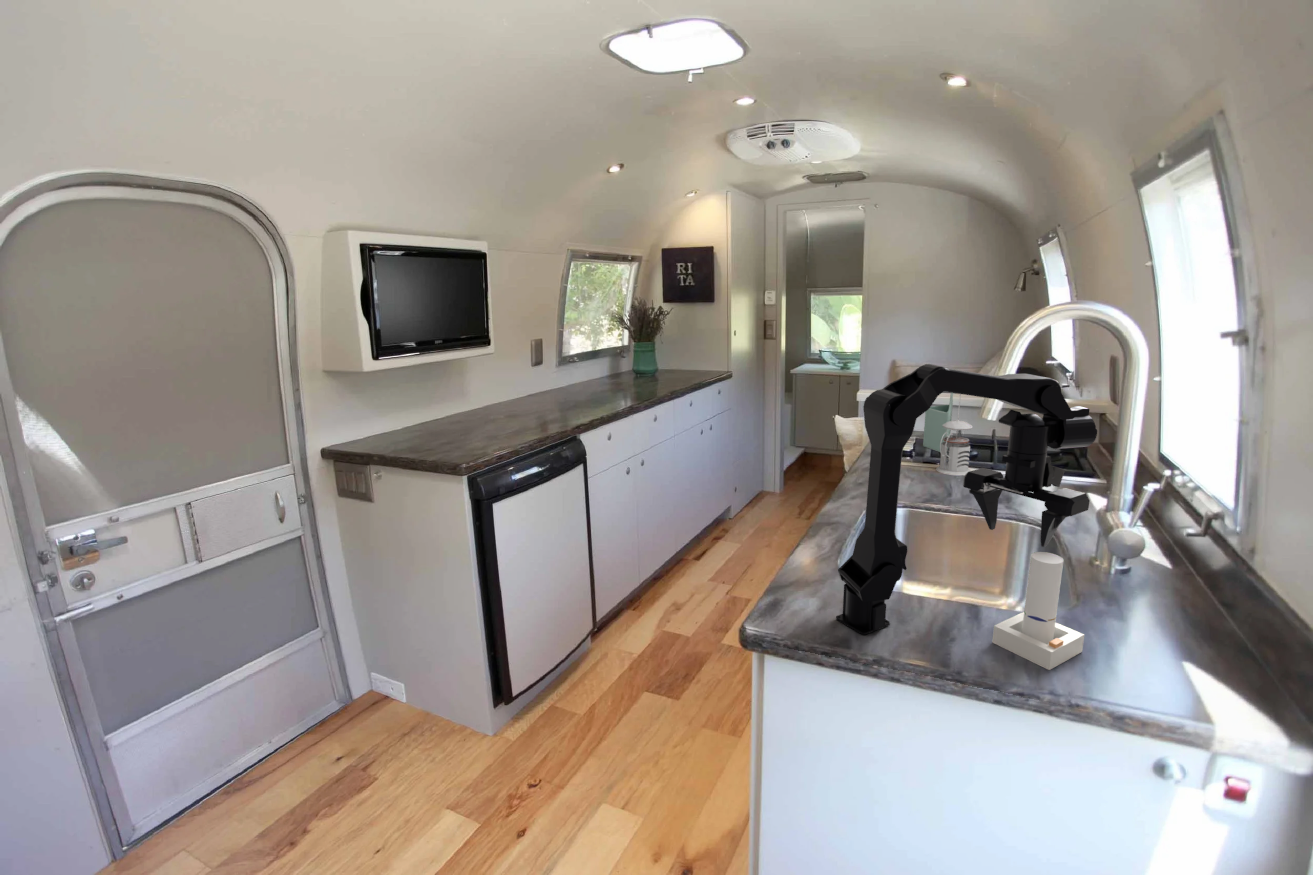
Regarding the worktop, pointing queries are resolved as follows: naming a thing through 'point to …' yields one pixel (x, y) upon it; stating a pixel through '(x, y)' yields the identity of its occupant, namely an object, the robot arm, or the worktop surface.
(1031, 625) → the tube
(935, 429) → the planter
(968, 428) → the french press
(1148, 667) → the worktop surface
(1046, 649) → the white hollow square block
